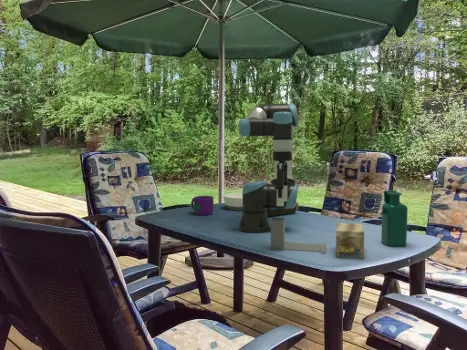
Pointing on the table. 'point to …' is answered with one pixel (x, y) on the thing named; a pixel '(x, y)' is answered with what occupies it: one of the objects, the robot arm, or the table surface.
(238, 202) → the bowl
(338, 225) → the shelf
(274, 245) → the bracket
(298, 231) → the table surface
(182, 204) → the table surface
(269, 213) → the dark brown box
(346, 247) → the yellow lumpy disc
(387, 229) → the green bottle
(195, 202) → the mug
